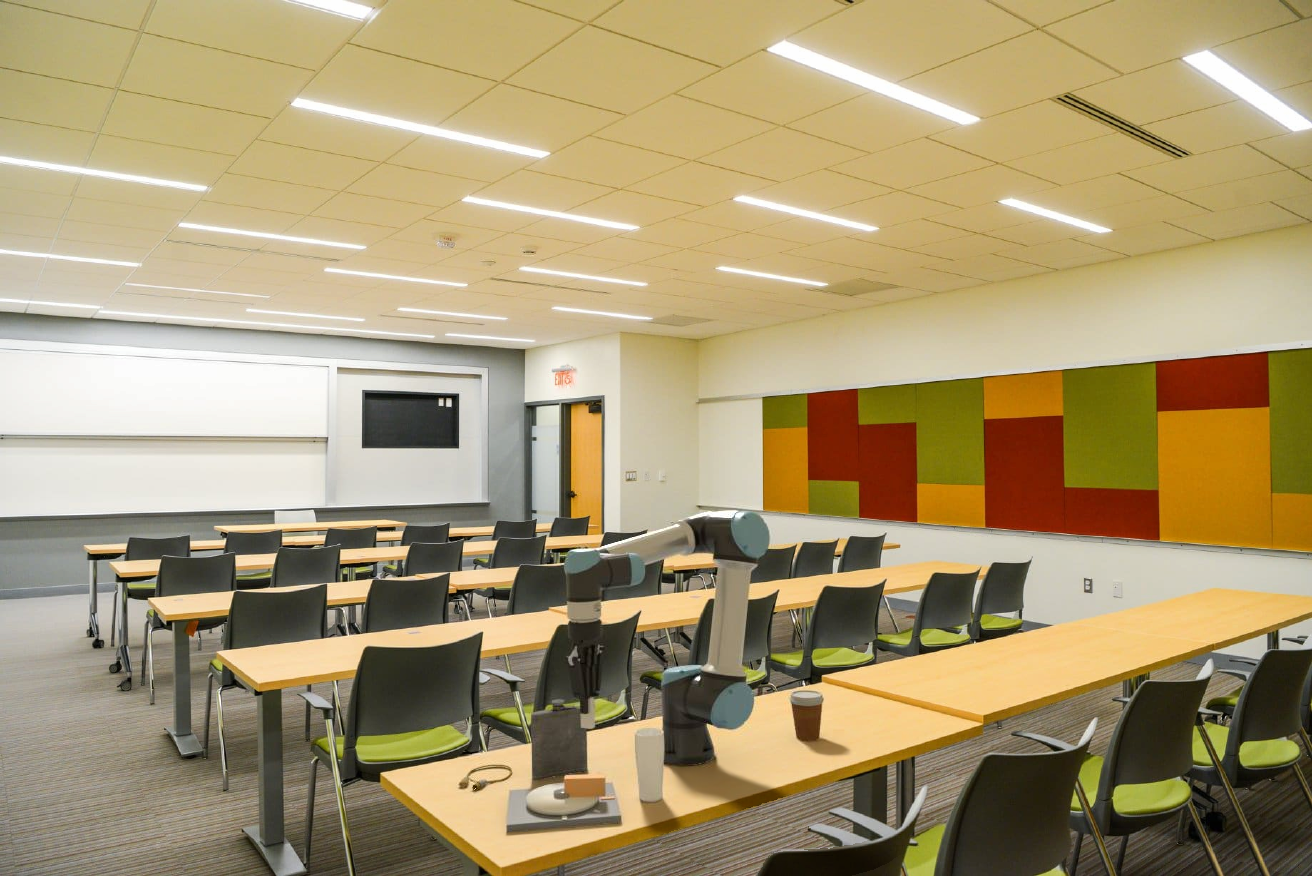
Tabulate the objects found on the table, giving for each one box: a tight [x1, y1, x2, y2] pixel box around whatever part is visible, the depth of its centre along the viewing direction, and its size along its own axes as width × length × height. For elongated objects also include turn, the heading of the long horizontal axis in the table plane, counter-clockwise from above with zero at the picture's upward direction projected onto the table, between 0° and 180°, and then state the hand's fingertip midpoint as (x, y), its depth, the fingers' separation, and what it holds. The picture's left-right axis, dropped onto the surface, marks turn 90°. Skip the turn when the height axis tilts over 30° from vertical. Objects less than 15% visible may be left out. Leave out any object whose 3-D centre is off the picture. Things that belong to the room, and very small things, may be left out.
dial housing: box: [506, 781, 622, 833], centre depth 187 cm, size 24×20×2 cm
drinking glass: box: [634, 727, 665, 803], centre depth 192 cm, size 7×7×15 cm
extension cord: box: [458, 764, 513, 792], centre depth 208 cm, size 12×16×2 cm
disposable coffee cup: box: [788, 689, 825, 742], centre depth 233 cm, size 10×10×12 cm
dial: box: [526, 773, 607, 815], centre depth 187 cm, size 18×16×5 cm
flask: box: [530, 698, 589, 781], centre depth 210 cm, size 4×14×18 cm, turn 116°
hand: (587, 727), depth 185 cm, fingers closed
